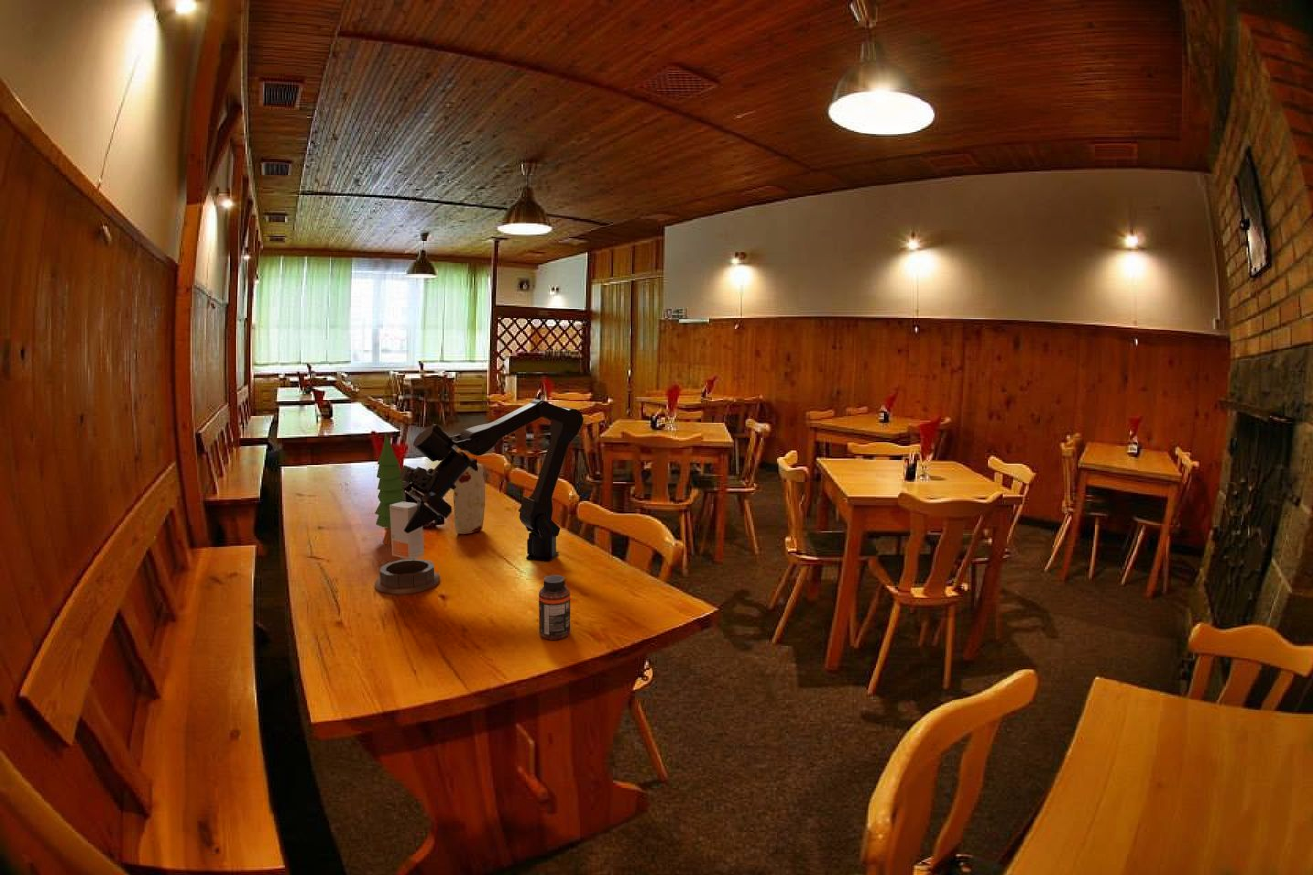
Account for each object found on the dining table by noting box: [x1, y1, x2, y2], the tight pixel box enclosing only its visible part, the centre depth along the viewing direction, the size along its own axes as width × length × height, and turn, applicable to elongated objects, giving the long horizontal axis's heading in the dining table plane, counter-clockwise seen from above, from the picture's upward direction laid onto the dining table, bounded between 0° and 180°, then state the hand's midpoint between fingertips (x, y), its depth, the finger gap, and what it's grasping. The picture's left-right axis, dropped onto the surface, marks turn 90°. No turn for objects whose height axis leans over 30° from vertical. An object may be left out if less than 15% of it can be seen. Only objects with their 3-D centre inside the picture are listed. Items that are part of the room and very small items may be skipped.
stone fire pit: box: [374, 558, 441, 596], centre depth 158 cm, size 14×14×4 cm
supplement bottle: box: [538, 574, 571, 641], centre depth 133 cm, size 6×6×11 cm
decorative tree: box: [374, 432, 406, 546], centre depth 187 cm, size 10×9×30 cm
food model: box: [452, 462, 486, 535], centre depth 197 cm, size 10×7×20 cm
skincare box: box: [390, 502, 425, 560], centre depth 157 cm, size 6×4×12 cm
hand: (400, 528), depth 156 cm, fingers closed on skincare box, 7 cm apart
